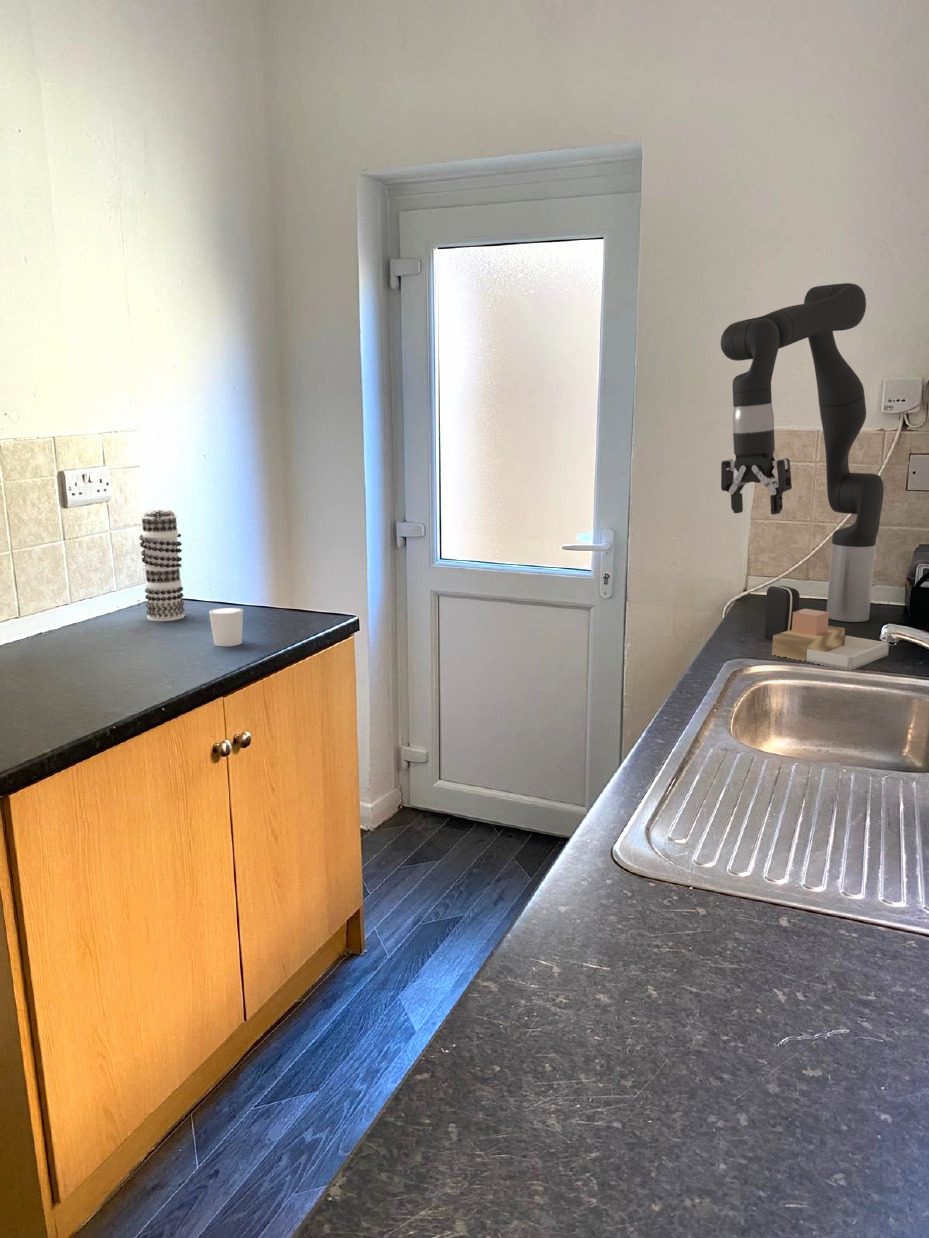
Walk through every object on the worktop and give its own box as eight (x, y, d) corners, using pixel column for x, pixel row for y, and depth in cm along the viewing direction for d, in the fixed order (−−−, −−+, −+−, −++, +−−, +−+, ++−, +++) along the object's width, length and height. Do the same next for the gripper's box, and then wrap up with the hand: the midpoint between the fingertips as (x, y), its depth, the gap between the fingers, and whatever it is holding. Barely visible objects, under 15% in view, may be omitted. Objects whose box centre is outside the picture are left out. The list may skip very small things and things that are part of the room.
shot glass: (247, 645, 197) (245, 612, 196) (213, 648, 195) (211, 614, 193) (242, 638, 203) (240, 605, 202) (208, 641, 201) (207, 608, 199)
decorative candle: (147, 614, 228) (140, 508, 222) (188, 612, 229) (181, 508, 224) (142, 622, 219) (134, 512, 214) (184, 620, 221) (177, 511, 215)
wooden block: (810, 641, 199) (811, 623, 198) (843, 647, 194) (844, 628, 193) (771, 655, 188) (773, 635, 187) (805, 661, 183) (807, 641, 182)
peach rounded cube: (803, 627, 194) (805, 608, 193) (827, 631, 190) (829, 612, 189) (791, 631, 190) (793, 612, 189) (815, 635, 187) (817, 615, 186)
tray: (845, 647, 194) (846, 635, 193) (888, 655, 188) (889, 642, 187) (806, 662, 183) (807, 649, 182) (850, 670, 177) (851, 657, 176)
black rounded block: (799, 643, 198) (803, 588, 195) (784, 644, 196) (788, 590, 194) (777, 636, 204) (780, 583, 202) (762, 637, 203) (766, 584, 200)
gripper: (797, 425, 180) (800, 511, 183) (733, 428, 191) (737, 509, 194) (774, 430, 175) (777, 517, 179) (710, 432, 186) (714, 515, 190)
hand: (756, 513), depth 187 cm, fingers open, 8 cm apart
